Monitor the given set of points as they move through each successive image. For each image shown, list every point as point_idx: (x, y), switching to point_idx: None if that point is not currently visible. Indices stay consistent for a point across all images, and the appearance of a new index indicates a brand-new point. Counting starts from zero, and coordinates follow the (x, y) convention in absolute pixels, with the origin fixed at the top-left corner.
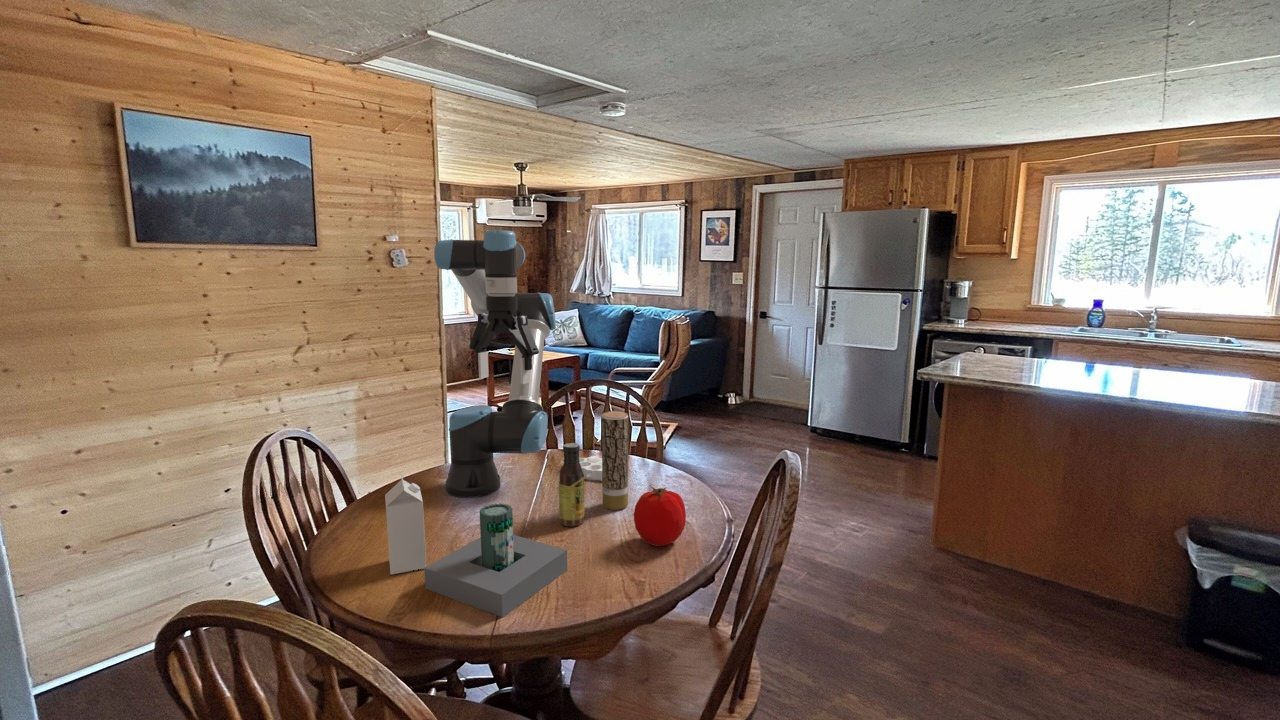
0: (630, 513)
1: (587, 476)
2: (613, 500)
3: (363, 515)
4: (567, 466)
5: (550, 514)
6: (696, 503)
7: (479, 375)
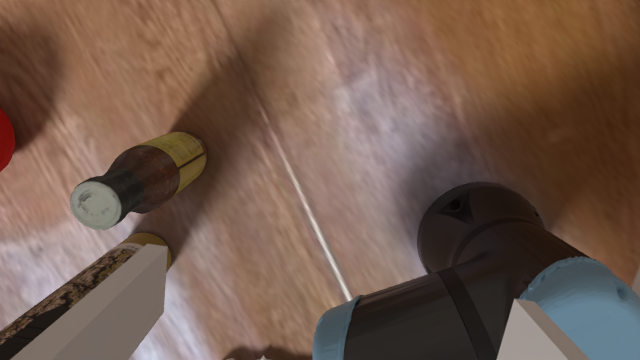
0: (104, 233)
1: (262, 357)
2: (127, 239)
3: (627, 22)
4: (124, 166)
5: (245, 174)
6: (16, 317)
7: (539, 311)
